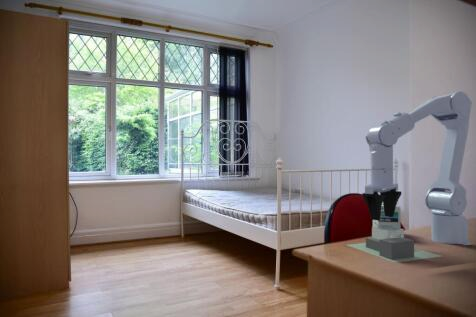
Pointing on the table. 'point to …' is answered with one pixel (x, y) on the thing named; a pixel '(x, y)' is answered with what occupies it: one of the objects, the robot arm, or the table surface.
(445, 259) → the table surface
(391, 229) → the pale grey block
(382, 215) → the light bulb box
